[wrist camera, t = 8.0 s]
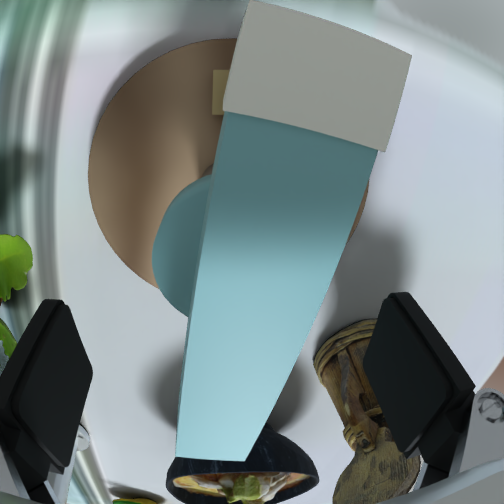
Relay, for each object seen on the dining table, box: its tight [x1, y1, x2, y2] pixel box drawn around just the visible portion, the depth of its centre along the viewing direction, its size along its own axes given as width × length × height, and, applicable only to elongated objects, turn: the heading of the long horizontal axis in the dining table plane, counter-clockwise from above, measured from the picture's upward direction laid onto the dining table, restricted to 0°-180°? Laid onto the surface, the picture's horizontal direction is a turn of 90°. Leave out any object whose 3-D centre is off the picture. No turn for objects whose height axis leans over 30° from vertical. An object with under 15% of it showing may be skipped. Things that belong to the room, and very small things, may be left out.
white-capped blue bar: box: [152, 0, 412, 461], centre depth 10 cm, size 14×6×6 cm, turn 167°
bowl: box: [166, 423, 319, 504], centre depth 31 cm, size 17×17×10 cm
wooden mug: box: [313, 319, 421, 504], centre depth 21 cm, size 9×14×18 cm, turn 43°
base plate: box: [88, 38, 369, 289], centre depth 17 cm, size 18×18×8 cm
